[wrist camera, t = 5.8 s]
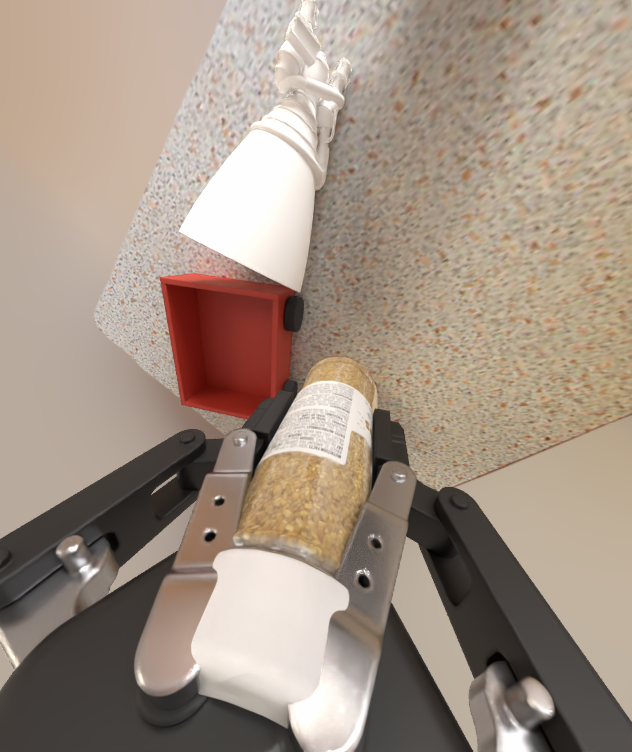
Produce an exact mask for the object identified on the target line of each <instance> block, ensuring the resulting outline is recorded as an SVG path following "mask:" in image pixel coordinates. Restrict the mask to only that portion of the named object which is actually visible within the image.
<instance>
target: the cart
mask: <svg viewBox="0 0 632 752" xmlns="http://www.w3.org/2000/svg"><path fill="white" fill-rule="evenodd" d="M160 281H161V287H162V293H163V299H164V305H165V311H166V316H167V322H168V328H169V334H170V340H171V346H172V352H173V357H174V363H175V369H176V375H177V381H178V387H179V392H180V398H181V404H182V405H185V406H189V407H194V408H198V409H203V410H208V411H212V412H217V413H221V414H226V415H230V416H235V417H239V418H244V419H249V417H250V416H251V415H252V413H254V411H255V410H256V408H257V407H258V406H259V404H260V403H261V402H262V401H263V400H265V399H267V398H268V397H270V398H275V396H276V395H277V393H278V392H279V391H280V390H282V389H283V386H284V384H285V382H286V381H287V380H289V372H290V355H291V338H292V331H287V330H286V329H285V326H284V312H285V306H286V302H287V300H288V298H289V296H291V295H293V296H294V290H292V289H290V288H288V287H286V286H279V285H272V284H265V283H258V282H251V281H243V280H236V279H229V278H222V277H215V276H208V275H201V274H184V275H176V276H167V277H160Z"/></svg>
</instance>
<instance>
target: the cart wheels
mask: <svg viewBox="0 0 632 752" xmlns="http://www.w3.org/2000/svg"><path fill="white" fill-rule="evenodd" d="M303 311H304V303H303V298H302V297H299V296H293V295H291V296H289V298H288V300H287V302H286V306H285V312H284V326H285V329H286V330H287V331H292V332H298V331H299V329H300V327H301V323H302V319H303ZM282 391H287V392H292V393H293V394H294V400H295V398H296V395H297V382H296V381H291V380H287V381H286V382H285V384H284V386H283V389H282Z"/></svg>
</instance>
